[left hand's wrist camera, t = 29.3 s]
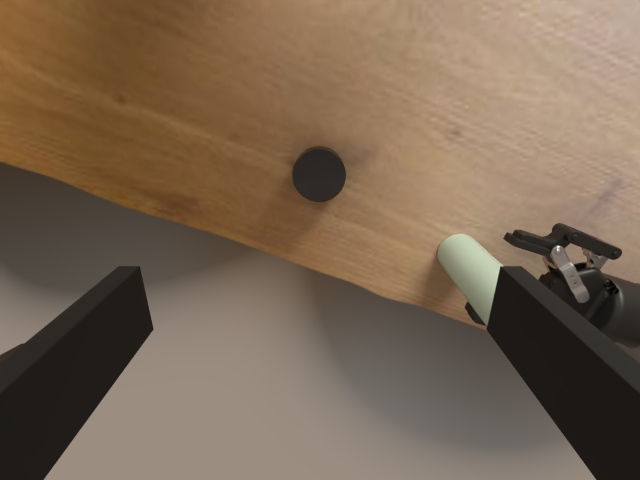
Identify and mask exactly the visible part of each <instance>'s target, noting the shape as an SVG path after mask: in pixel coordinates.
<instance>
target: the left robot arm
mask: <svg viewBox="0 0 640 480" xmlns="http://www.w3.org/2000/svg"><path fill="white" fill-rule="evenodd" d="M152 331H153V325H152V320H151V316H150V311H149V307H148V302H147V298H146V293H145V289H144V284H143V279H142V275H141V270H140V267H139V266H119V267H117V268H116V269H115V270H114V271H113V272H111V273H110V274H109V275H108V276H106V277H105V278H104V279H103V280H101V281H100V282H99V283H98V284H97V285H95V286H94V287H93V288H92V289H91V290H89V291H88V292H87V293H86V294H84V295H83V296H82V297H81V298H80V299H78V300H77V301H76V302H75V303H73V304H72V305H71V306H70V307H69V308H67V309H66V310H65V311H64V312H62V313H61V314H60V315H59V316H58V317H56V318H55V319H54V320H53V321H51V322H50V323H49V324H48V325H47V326H45V327H44V328H43V329H42V330H41V331H39V332H38V333H37V334H36V335H34V336H33V337H32V338H31V339H29V340H28V341H27V342H26V343H25V344H20V345H18V346H16V347H15V348H13V349H11V350H9V351H7V352H5V353H4V354H2V355H0V480H44V478H45V477H46V475H47V474H48V473H49V471H50V470H51V469H52V467H53V466H54V465H55V463H56V462H57V461H58V459H59V458H60V456H61V455H62V454H63V452H64V451H65V450H66V448H67V447H68V445H69V444H70V443H71V441H72V440H73V439H74V437H75V436H76V435H77V433H78V432H79V430H80V429H81V428H82V426H83V425H84V424H85V422H86V421H87V420H88V418H89V417H90V415H91V414H92V413H93V411H94V410H95V409H96V407H97V406H98V404H99V403H100V402H101V400H102V399H103V398H104V396H105V395H106V394H107V392H108V391H109V389H110V388H111V387H112V385H113V384H114V383H115V381H116V380H117V378H118V377H119V376H120V374H121V373H122V372H123V370H124V369H125V367H126V366H127V365H128V363H129V362H130V361H131V359H132V358H133V357H134V355H135V354H136V353H137V351H138V350H139V348H140V347H141V346H142V344H143V343H144V342H145V340H146V339H147V337H148V336H149V335H150V333H151V332H152ZM487 331H488V332H489V333H490V335H491V336H492V337H493V339H494V340H495V342H496V343H497V344H498V346H499V347H500V348H501V350H502V351H503V353H504V354H505V355H506V356H507V358H508V359H509V361H510V362H511V363H512V365H513V366H514V368H515V369H516V370H517V372H518V373H519V374H520V376H521V377H522V378H523V380H524V381H525V383H526V384H527V385H528V387H529V388H530V389H531V391H532V392H533V393H534V395H535V396H536V398H537V399H538V400H539V402H540V403H541V404H542V406H543V407H544V409H545V410H546V411H547V413H548V414H549V415H550V417H551V418H552V419H553V421H554V422H555V424H556V425H557V426H558V428H559V429H560V430H561V432H562V433H563V434H564V436H565V437H566V439H567V440H568V441H569V443H570V444H571V445H572V447H573V448H574V450H575V451H576V452H577V454H578V455H579V456H580V458H581V459H582V460H583V462H584V463H585V465H586V466H587V467H588V469H589V470H590V471H591V473H592V474H593V476H594V477H595V478H596V480H640V354H639V353H637V352H636V351H634V350H632V349H630V348H628V347H626V346H624V345H623V344H621V343H614V342H613V341H612V340H611V339H609V338H608V337H607V336H606V335H604V334H603V333H602V332H601V331H600V330H598V329H597V328H596V327H595V326H593V325H592V324H591V323H590V322H589V321H587V320H586V319H585V318H584V317H582V316H581V315H580V314H579V313H578V312H576V311H575V310H574V309H573V308H571V307H570V306H569V305H568V304H567V303H565V302H564V301H563V300H562V299H560V298H559V297H558V296H557V295H556V294H554V293H553V292H552V291H551V290H549V289H548V288H547V287H546V286H545V285H543V284H542V283H541V282H540V281H539V280H537V279H536V278H535V277H534V276H532V275H531V274H530V273H529V272H528V271H526V270H525V269H524V268H523V267H521V266H500V270H499V275H498V279H497V284H496V288H495V293H494V297H493V302H492V307H491V311H490V316H489V320H488V325H487Z"/></svg>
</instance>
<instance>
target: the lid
mask: <svg viewBox="0 0 640 480" xmlns="http://www.w3.org/2000/svg"><path fill="white" fill-rule="evenodd" d="M345 178H346V172H345V168H344V165H343V162H342V160H341V158H340V157H339V156H338V154H337V153H336V152H334V151H333V150H331V149H329V148H326V147H321V146H318V147H312V148H309V149H307V150H306V151H304V152H303V153H302V154H301V155H300V156H299V157H298V159H297V161H296V163H295V166H294V169H293V181H294V185H295V187H296V189H297V190H298V192H299V193H300V194H301V195H302V196H303V197H305V198H307V199H309V200H311V201H316V202H323V201H327V200H330V199H332V198H333V197H335V196H336V195H337V194H338V193H339V192H340V191H341V190H342V188H343V186H344V183H345Z"/></svg>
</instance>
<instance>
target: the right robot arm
mask: <svg viewBox="0 0 640 480" xmlns="http://www.w3.org/2000/svg"><path fill="white" fill-rule="evenodd" d="M503 239H504V240H506V241H507V242H508V243H510V244H511V245H513V246H515V247H518V248H521V249H525V250H528V251H531V252H534V253H537V254H540V255H542V256H543V258H542V259H543V261H544V263H545V265H546V267H547V269H548V271H549V272H548V273H546V274H545V275H543V274H542V275H541V277H540V278H539V281H540V282H541V283H542V284H543V285H545V286H546V287H547V288H548V289H549V290H551V291H552V292H553V293H554V294H556V295H557V296H558V297H559V298H560V299H562V300H563V301H564V302H565V303H567V304H568V305H569V306H570V307H571V308H573V309H574V310H575V311H576V312H578V313H579V314H580V315H581V316H582V317H584V318H585V319H586V320H587V321H589V322H590V323H591V324H592V325H593V326H595V327H596V328H597V329H598V330H600V331H601V332H602V333H603V334H604V335H606V336H607V337H608V338H609V339H611V340H612V341H613V342H614V343H621V344H623V345H624V346H626V347H628V348H630V349H632V350H634V351H636V352H637V353H639V354H640V284H638V283H632V282H629V281H626V280H623V279H620V278H616V277H613V276H610V275H607V274H604V273H602V272H601V271H600V269H601V267H602V266H603V265H604V263H605V262H606V261H607V260H608V258H609V259H612V260H615V259H618V258H619V257H620V256H621V254H622V251H621V249H619V248H617V247H615V246H613V245H611V244H609V243H607V242H605V241H603V240H601V239H598V238H596V237H593V236H591V235H588V234H586V233H584V232H581V231H579V230H576V229H574V228H571V227H569V226H567V225H564V224H562V223H558V224H555V225H554V226H553V228H552V233H550V234H549V235H548V236H545V237H541V236H538V235H535V234H532V233H529V232H525V231H522V230H515V231H514V232H513V234H511V233H508V232H507V233H506V235H505V237H504V238H503ZM570 243H572V244H575V245H577V246H580V247H582V250H583V254H584V255H585V256H586V257H587V262H586V263H578V264H574V265H573V264H572V263H571V262H570V260H569V258H568V256H567V254H566V252H565V250H564V248H565V247H566V246H567V245H569V244H570ZM465 309H466V310H467V312H468V314H469V315H470V317H471V318H472V320H473V321H474V322H476V323H478V324H482V325H485V323H484V322H483V321H482V319H481V318H480V317H479V315H478V314H477V313H476V311H475V310H474V309H473V307H472V306H471V305H470V303H469V302H467V304H466V306H465ZM485 326H486V325H485Z"/></svg>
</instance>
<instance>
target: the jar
mask: <svg viewBox="0 0 640 480" xmlns="http://www.w3.org/2000/svg"><path fill="white" fill-rule="evenodd" d="M437 257H438V261H439V263H440V264H441V265H442V267H443V268H444V269H445V271H446V272H447V273H448V275H449V276H450V278H451V279H452V280H453V282H454V283H455V284H456V286H457V287H458V288H459V290H460V291H461V292H462V294H463V295H464V296H465V298H466V299H467V300H468V302H469V303H470V305H471V306H472V307H473V309H474V310H475V311H476V313H477V314H478V315H479V317H480V318H481V319H482V321H483V322H484V323H485V325H486V326H487V325H488V320H489V316H490V311H491V307H492V302H493V297H494V293H495V288H496V284H497V279H498V275H499V270H500V266H503V265H502V264H501V263H500V262H499V261H497V260H496V259H495V258H494V257H493V256H492V255H491V254H490V253H489V252H487V251H486V250H485V249H484V248H483V247H482V246H481V245H480V244H478V243H477V242H476V241H475V240H474V239H473V238H472V237H470V236H468V235H465V234H455V235H452V236H450V237H448V238H446V239H445V240H444V241H443V242H442V243H441V244H440V246H439V248H438V252H437Z"/></svg>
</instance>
